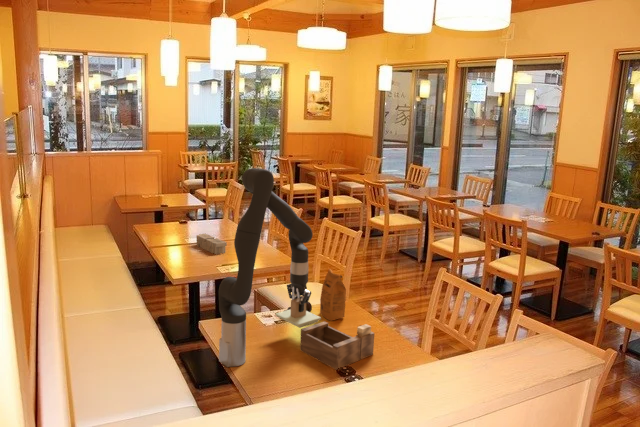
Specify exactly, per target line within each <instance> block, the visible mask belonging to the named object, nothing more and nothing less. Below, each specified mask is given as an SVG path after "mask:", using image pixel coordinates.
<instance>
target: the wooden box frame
mask: <svg viewBox="0 0 640 427" xmlns="http://www.w3.org/2000/svg"><path fill="white" fill-rule="evenodd" d="M299 344H300V345H299V349H300V351H301V352H303V353H305V354H306V355H308V356H310V357H311V358H314V359H315V360H316V361H319V362H321V363H323V364H324V365H327V366H329V367H330V368H332V369H333V370H339V369H341V368H340V367H342V368H344V367H346V366H349V365H351V364H353V363H356V362H358V361H361V360H362V359H365V358H367V357H370V356H372V355H374V350H375V349H374V347H375V332H373V331H371V333H370V334H367V335H365V336H360V335H358V334H356V335H355V336H351V335H349V334H346V333H345V332H342V331H340V330H338V329H336V328H334V327H332V326H329V322H326V321H322V322H317V323H314V324H313V325H312V324H311V325H308V326H305V327H301V328H300V342H299ZM338 368H339V369H338Z"/></svg>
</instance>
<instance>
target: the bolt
mask: <svg viewBox="0 0 640 427" xmlns="http://www.w3.org/2000/svg"><path fill="white" fill-rule="evenodd" d="M312 308H313V306H312V303H311V302H310V301H308V303H306V311H308V312H310V313H312V310H313V309H312ZM290 309H291V306H289V307H287V309H285V310H284V311H286V310H290Z"/></svg>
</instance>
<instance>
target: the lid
mask: <svg viewBox="0 0 640 427" xmlns="http://www.w3.org/2000/svg"><path fill="white" fill-rule="evenodd" d="M301 301H302V298H301ZM290 307H291V309H290V310H287V309H285V310H286V311H285V310H283V311H281V312H280V311H279V312H277V313H275V317H277V318H279V319H281V320H283V321H285V322H288V323H290V324H291V325H293V326H295V327H297V328H300V329H302V328H305V327H308V326H311V325H312V324H313V325H314V324H317V323H319V321H321V320H322V317H321V316H319V315H316V314H314V313H312V312H308V311H306V303H305V304H304V311H303V312H299V299H298V298H297V299H294V300H292V299H291V300H290Z"/></svg>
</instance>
